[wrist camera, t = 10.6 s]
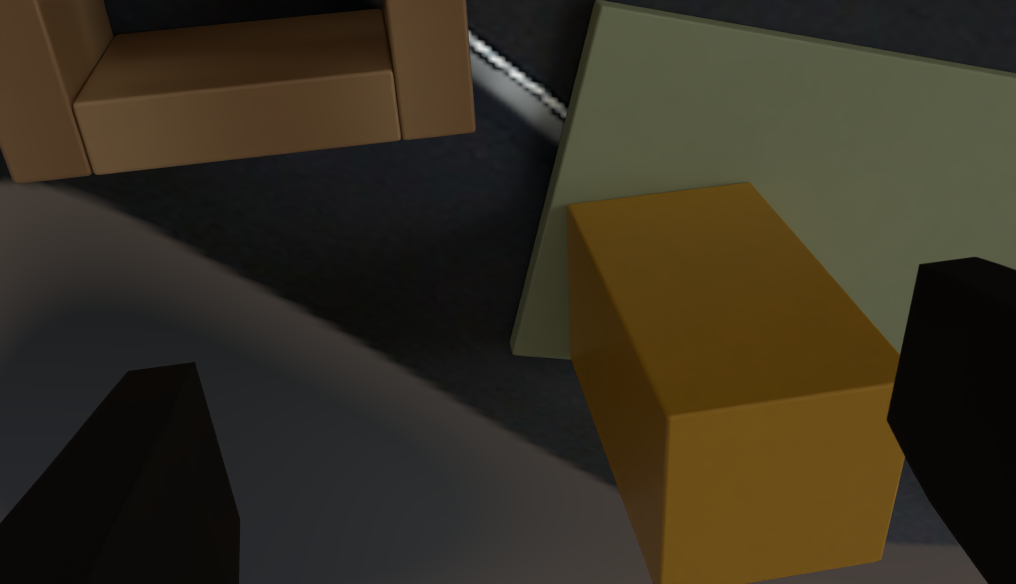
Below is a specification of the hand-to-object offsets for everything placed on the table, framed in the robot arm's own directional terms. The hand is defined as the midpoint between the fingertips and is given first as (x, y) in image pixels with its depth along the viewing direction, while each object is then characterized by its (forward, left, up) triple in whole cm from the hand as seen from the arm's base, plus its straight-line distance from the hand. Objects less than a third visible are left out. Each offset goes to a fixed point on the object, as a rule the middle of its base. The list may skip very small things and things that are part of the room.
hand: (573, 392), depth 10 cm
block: (-2, -6, -10) cm, 12 cm away
